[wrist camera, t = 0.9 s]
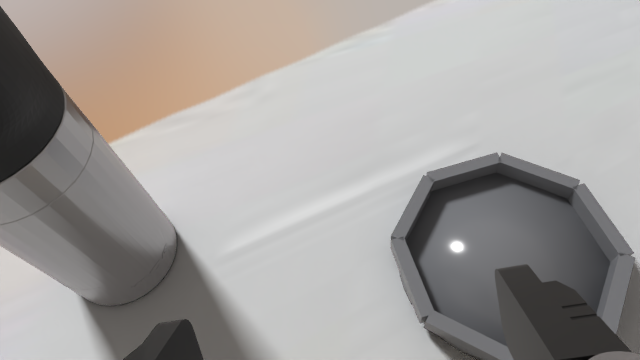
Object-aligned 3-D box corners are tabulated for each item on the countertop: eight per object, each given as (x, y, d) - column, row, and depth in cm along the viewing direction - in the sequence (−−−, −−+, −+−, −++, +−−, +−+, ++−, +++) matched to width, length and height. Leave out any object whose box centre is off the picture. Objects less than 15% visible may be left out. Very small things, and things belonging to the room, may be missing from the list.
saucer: (363, 300, 36) (362, 289, 34) (442, 150, 42) (446, 133, 40) (582, 413, 30) (597, 409, 28) (633, 219, 37) (648, 204, 35)
